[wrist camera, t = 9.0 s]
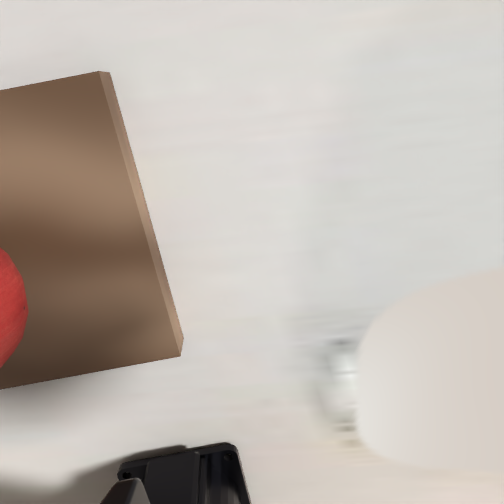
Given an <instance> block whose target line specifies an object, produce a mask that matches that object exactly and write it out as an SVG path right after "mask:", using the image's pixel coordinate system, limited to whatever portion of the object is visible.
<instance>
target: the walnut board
mask: <svg viewBox="0 0 504 504" xmlns="http://www.w3.org/2000/svg"><path fill="white" fill-rule="evenodd" d="M0 248H2V249H3V250H4V251H5V252H7V253H8V254H9V256H10V258H11V259H12V261H13V263H14V264H15V266H16V268H17V269H18V271H19V273H20V274H21V276H22V278H23V282H24V287H25V293H26V299H27V304H28V311H29V312H28V317H27V321H26V326H25V330H24V334H23V338H22V340H21V341H20V343H19V344H18V346H17V348H16V349H15V351H14V352H13V354H12V355H11V356H10V357H9V359H8V360H7V361H6V362H5V363H4V365H3V366H2V367H1V368H0V389H5V388H11V387H16V386H22V385H27V384H33V383H38V382H44V381H49V380H54V379H60V378H65V377H71V376H76V375H82V374H87V373H92V372H98V371H103V370H109V369H114V368H120V367H125V366H131V365H136V364H141V363H147V362H152V361H158V360H163V359H169V358H174V357H179V356H181V350H182V344H183V339H184V338H183V334H182V331H181V327H180V323H179V320H178V316H177V313H176V309H175V305H174V302H173V298H172V295H171V291H170V287H169V284H168V280H167V277H166V273H165V269H164V266H163V262H162V259H161V255H160V251H159V248H158V244H157V241H156V237H155V234H154V230H153V226H152V223H151V219H150V216H149V212H148V208H147V205H146V201H145V198H144V194H143V190H142V187H141V183H140V180H139V176H138V172H137V169H136V165H135V162H134V158H133V154H132V151H131V147H130V144H129V140H128V137H127V133H126V129H125V126H124V122H123V119H122V115H121V111H120V108H119V104H118V101H117V97H116V93H115V90H114V86H113V83H112V79H111V75H110V73H109V72H101V71H97V72H92V73H87V74H82V75H77V76H71V77H66V78H61V79H56V80H51V81H46V82H41V83H36V84H30V85H25V86H20V87H15V88H10V89H5V90H0Z"/></svg>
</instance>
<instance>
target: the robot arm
mask: <svg viewBox="0 0 504 504" xmlns="http://www.w3.org/2000/svg"><path fill="white" fill-rule="evenodd" d="M226 454H231V455H226ZM127 472H129V473H127ZM117 475H118V479H119V481H118V482H117V483H116V484H115V485H114V486H113V487H112V488H111V490H110V491H109V492H108V494H107V495H106V496H105V498H104V499H103V500H102V502H101V503H100V504H251V500H250V496H249V492H248V489H247V485H246V481H245V477H244V473H243V469H242V465H241V461H240V457H239V453H238V449H237V447H235V446H234V445H231V444H226V445H220V446H215V447H209V448H203V449H198V450H192V451H187V452H181V453H176V454H170V455H165V456H159V457H154V458H148V459H142V460H137V461H131V462H126V463H123V464H122V465H120V467H119V471H118V474H117Z"/></svg>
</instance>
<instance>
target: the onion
mask: <svg viewBox="0 0 504 504" xmlns="http://www.w3.org/2000/svg"><path fill="white" fill-rule="evenodd" d="M28 312H29V311H28V304H27V299H26V293H25V287H24V282H23V278H22V276H21V274H20V273H19V271H18V269H17V268H16V266H15V264H14V263H13V261H12V259H11V258H10V256H9V254H8V253H7V252H5V251H4V250H3V249H2V248H0V368H1V367H2V366H3V365H4V363H5V362H6V361H7V360H8V359H9V357H10V356H11V355H12V354H13V352H14V351H15V349H16V348H17V346H18V344H19V343H20V341H21V340H22V338H23V334H24V330H25V326H26V321H27V317H28Z"/></svg>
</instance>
